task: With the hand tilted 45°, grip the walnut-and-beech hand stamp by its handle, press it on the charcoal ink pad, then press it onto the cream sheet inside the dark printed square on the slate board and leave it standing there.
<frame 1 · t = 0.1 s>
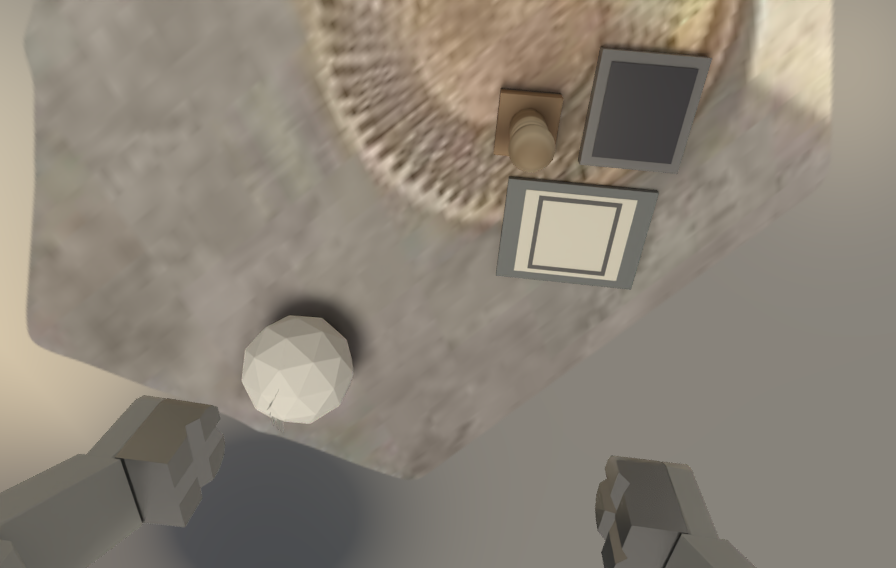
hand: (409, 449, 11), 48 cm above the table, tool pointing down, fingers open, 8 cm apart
hand stamp: (526, 121, 54), on the table
ink pad: (638, 111, 52), on the table
geodesic sphere: (315, 337, 70), on the table
document board: (571, 233, 59), on the table
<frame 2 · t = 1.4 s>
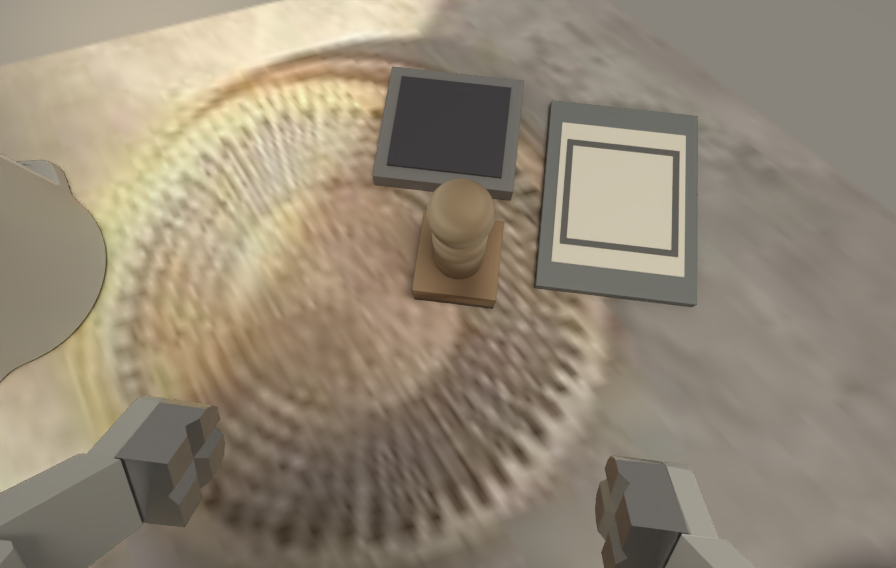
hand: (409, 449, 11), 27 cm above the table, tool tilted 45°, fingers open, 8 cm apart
hand stamp: (458, 266, 40), on the table
ink pad: (450, 137, 43), on the table
document board: (617, 201, 42), on the table
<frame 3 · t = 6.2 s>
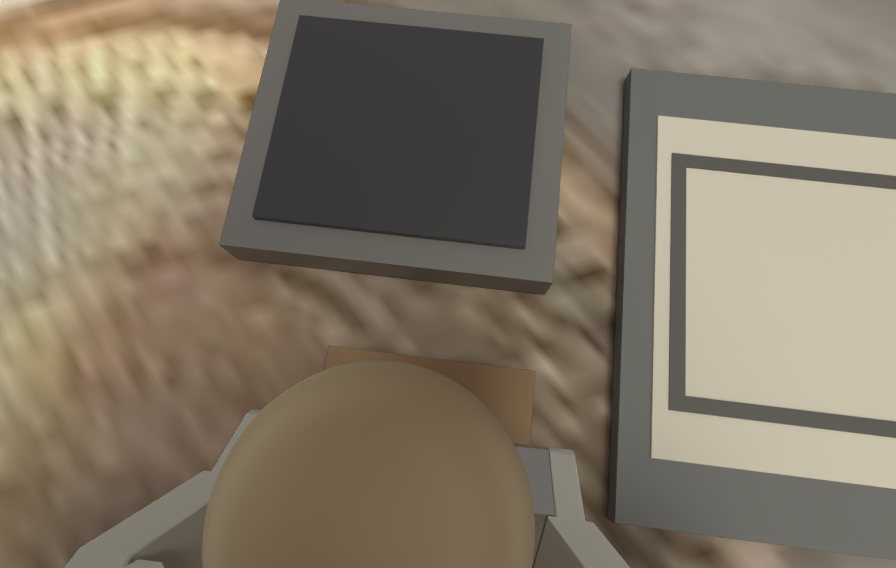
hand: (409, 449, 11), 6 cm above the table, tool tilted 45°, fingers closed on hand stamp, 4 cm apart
hand stamp: (422, 460, 17), on the table, touching gripper
ink pad: (409, 151, 20), on the table
document board: (789, 295, 18), on the table
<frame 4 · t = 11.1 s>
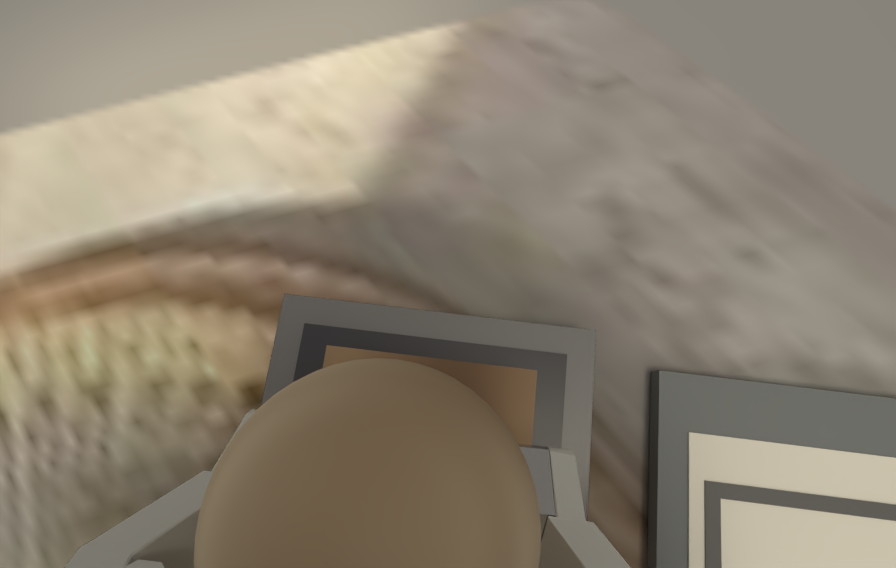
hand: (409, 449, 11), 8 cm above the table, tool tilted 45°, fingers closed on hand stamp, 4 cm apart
hand stamp: (422, 461, 17), point 2 cm above the table, touching gripper, ink pad
ink pad: (421, 458, 18), on the table
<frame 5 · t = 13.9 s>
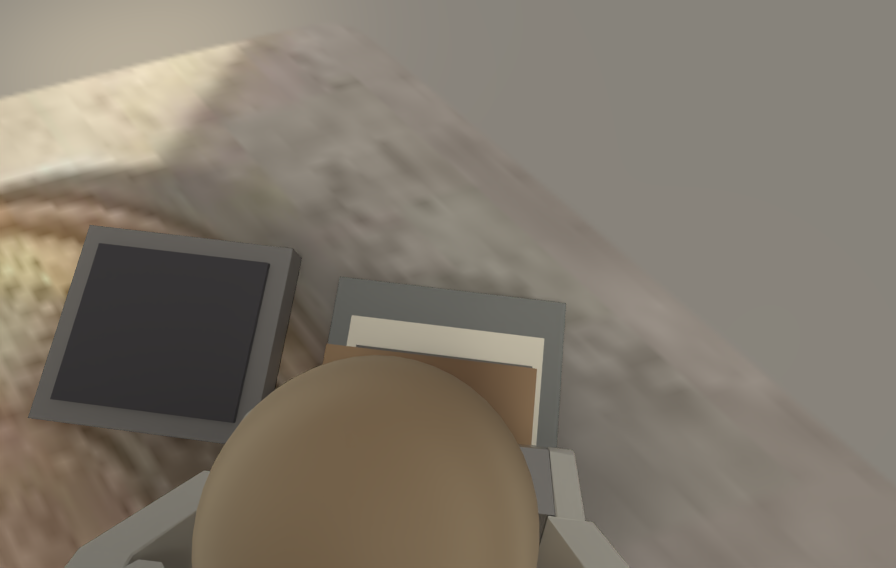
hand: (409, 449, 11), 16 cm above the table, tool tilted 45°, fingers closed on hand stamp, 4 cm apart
hand stamp: (422, 460, 17), point 10 cm above the table, touching gripper
ink pad: (181, 334, 28), on the table
document board: (432, 446, 26), on the table
when the fingers open (7 cm above the table, at t = 16.1 s): hand stamp stays where it is, resting on document board.
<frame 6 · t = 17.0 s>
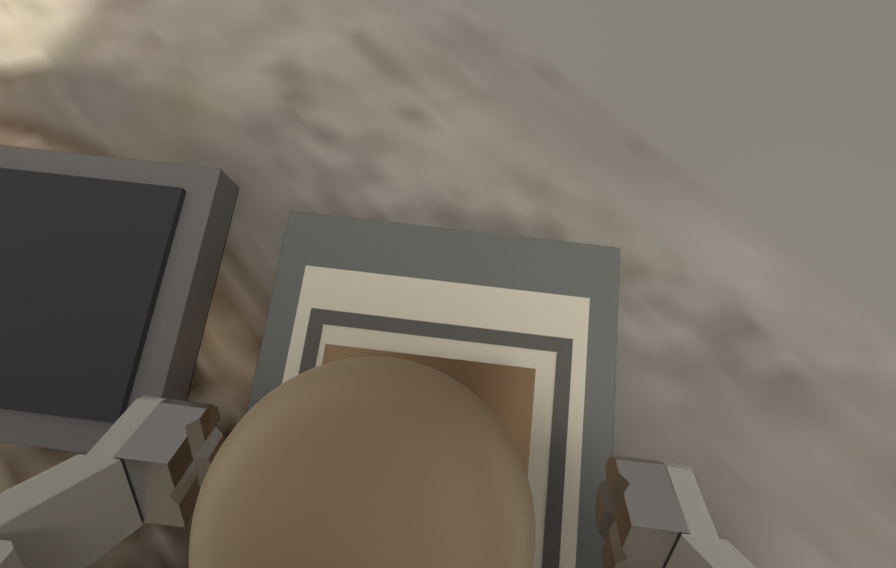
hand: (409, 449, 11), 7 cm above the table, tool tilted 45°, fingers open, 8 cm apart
hand stamp: (421, 460, 17), point 1 cm above the table, touching document board
ink pad: (61, 296, 19), on the table
document board: (424, 459, 17), on the table
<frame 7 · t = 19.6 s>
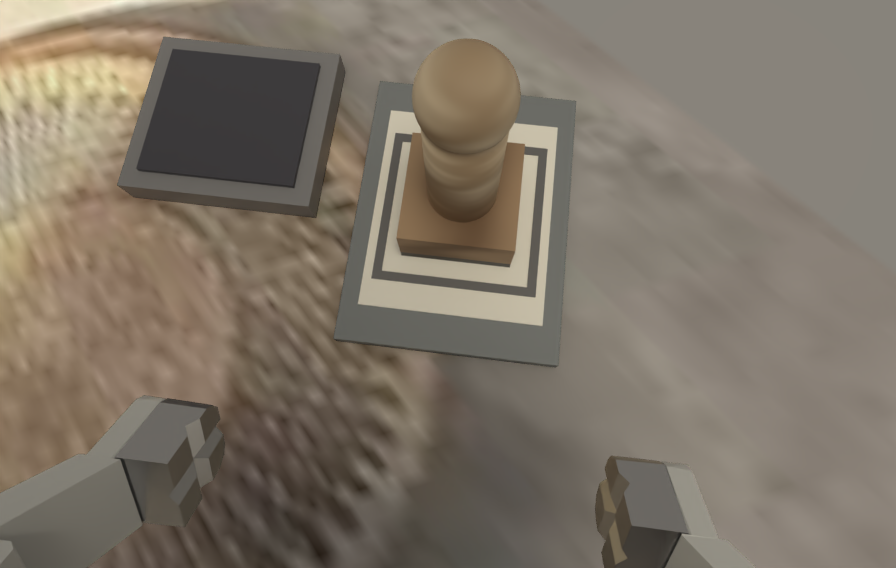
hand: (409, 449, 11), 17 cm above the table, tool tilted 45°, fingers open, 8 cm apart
hand stamp: (461, 211, 29), point 1 cm above the table, touching document board
ink pad: (243, 132, 32), on the table
document board: (462, 217, 30), on the table
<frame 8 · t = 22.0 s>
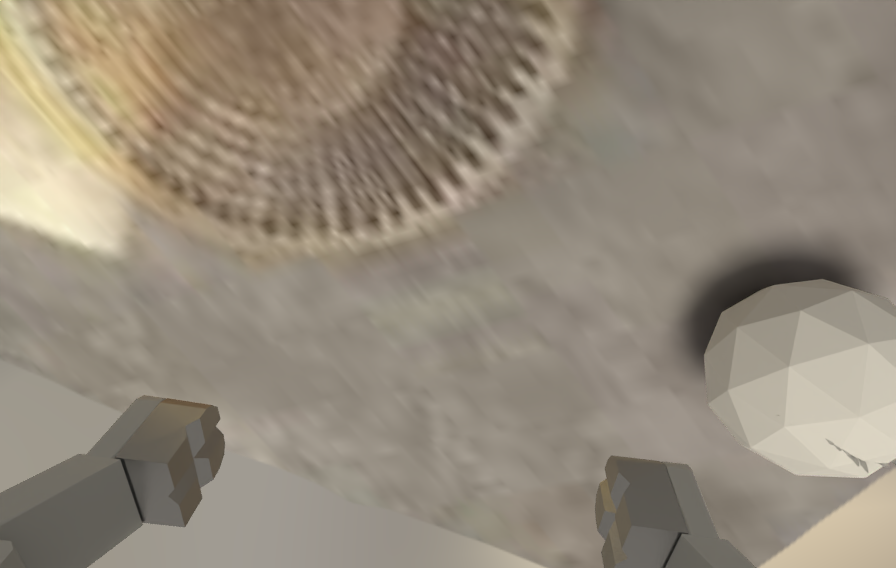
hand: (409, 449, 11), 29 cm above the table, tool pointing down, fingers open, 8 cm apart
geodesic sphere: (767, 322, 42), on the table
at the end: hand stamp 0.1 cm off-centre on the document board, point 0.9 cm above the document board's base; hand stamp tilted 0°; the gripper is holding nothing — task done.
